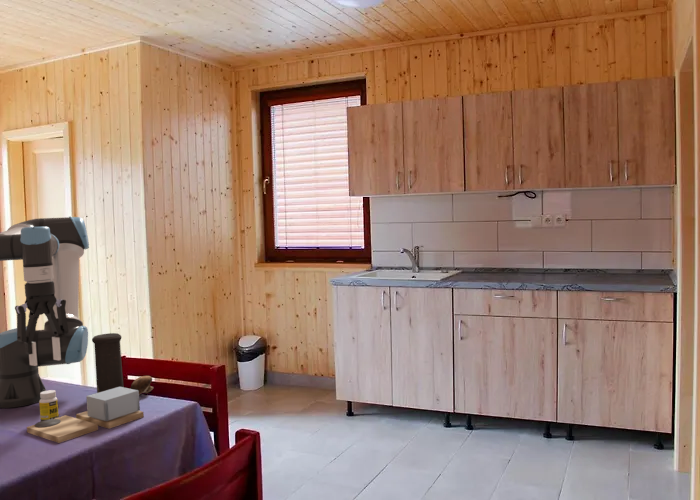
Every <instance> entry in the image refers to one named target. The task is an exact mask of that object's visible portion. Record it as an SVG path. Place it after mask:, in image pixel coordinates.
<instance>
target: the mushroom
mask: <svg viewBox="0 0 700 500" xmlns="http://www.w3.org/2000/svg"><path fill="white" fill-rule="evenodd" d="M152 381H153V378H152V376H150V375H143V376H139V377H137V378H135V379H134V380H133V382H132V383H131V386H130V389H134V390H138V391H139V396H140V395H141V394H149V393H150V392H151V391H153V389H154V388H155V387H154V386H151V383H152Z"/></svg>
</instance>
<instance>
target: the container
mask: <svg viewBox="0 0 700 500" xmlns="http://www.w3.org/2000/svg"><path fill="white" fill-rule="evenodd" d="M121 341H122V335H121V334H119V333H114V332H113V333H112V332H110V333H104V334H103V333H102V334H97V335H93V337H92V339H91V342H92V343H93V345H94V358H95V359H94V360H95V361H94V362H95V376H96V377H95V378H96V393H99V392H103V391H106V390H110V389H113V388H117V387H124V377H123V376H124V375H123V366H122V364H123V363H122V352H121V351H122V350H121ZM124 388H125V387H124Z"/></svg>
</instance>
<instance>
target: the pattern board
mask: <svg viewBox="0 0 700 500" xmlns="http://www.w3.org/2000/svg"><path fill="white" fill-rule="evenodd" d="M144 413H145V412H144V410H143V411H141V410H139V411H136V412H133V413H130V414H127V415H124V416H121V417H118V418H115V419H112V420H109V421H104V420H100V419H96V418H93V417H89V416H88V411H87V410H86V411H83V412H79V413H76V414H75V418H77V419H80V420H84V421H88V422H91V423H95V424H98V427H102V428H105V429H109V430H110V429H112V428H116V427H117V426H118V427H119V426H122V425H123V424H126V423H130V422H133V421H136V420H139V419H141V418H144Z"/></svg>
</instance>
